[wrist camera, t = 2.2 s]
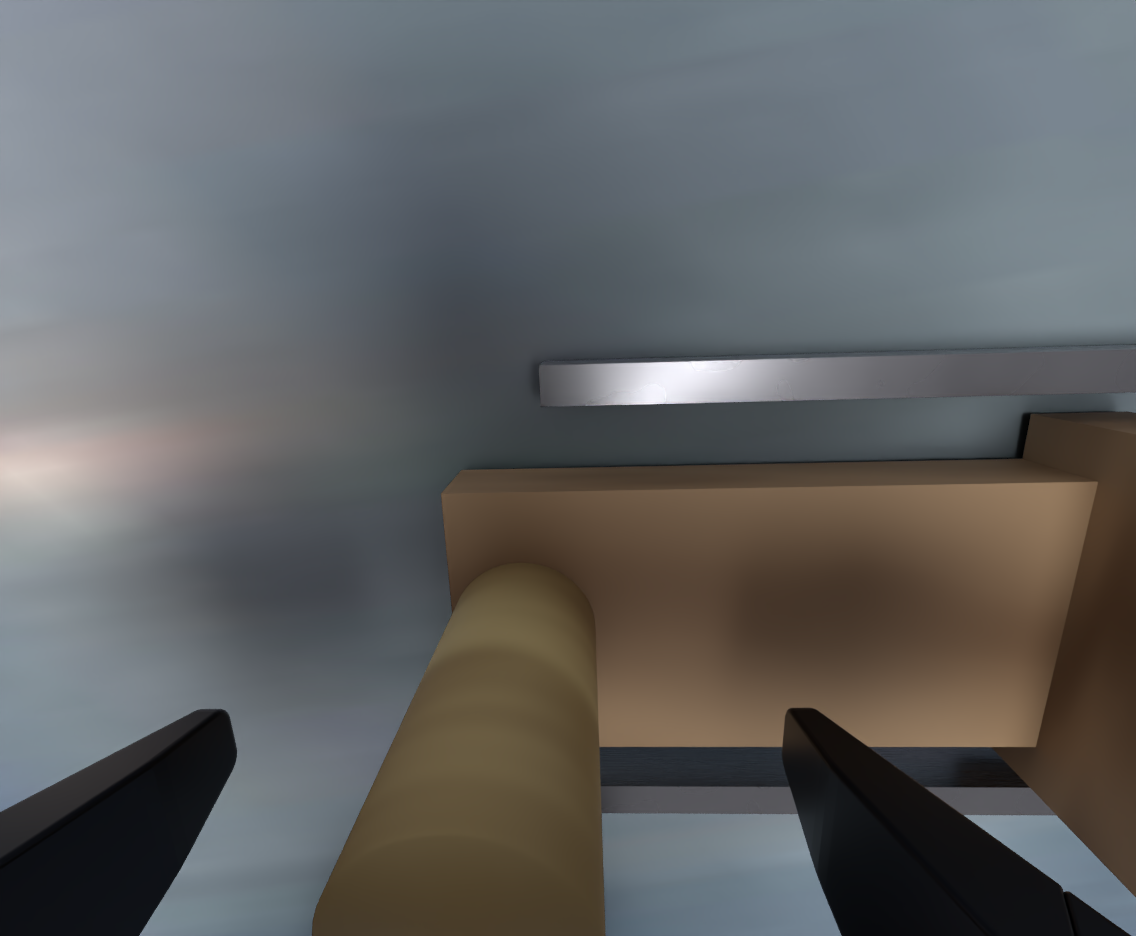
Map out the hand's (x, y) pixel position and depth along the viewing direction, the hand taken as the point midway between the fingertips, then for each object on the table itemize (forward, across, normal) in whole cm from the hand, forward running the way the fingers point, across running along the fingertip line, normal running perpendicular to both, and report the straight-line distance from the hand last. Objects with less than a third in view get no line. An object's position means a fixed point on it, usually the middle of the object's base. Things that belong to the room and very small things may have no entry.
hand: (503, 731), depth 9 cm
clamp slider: (+5, -6, 0) cm, 7 cm away
